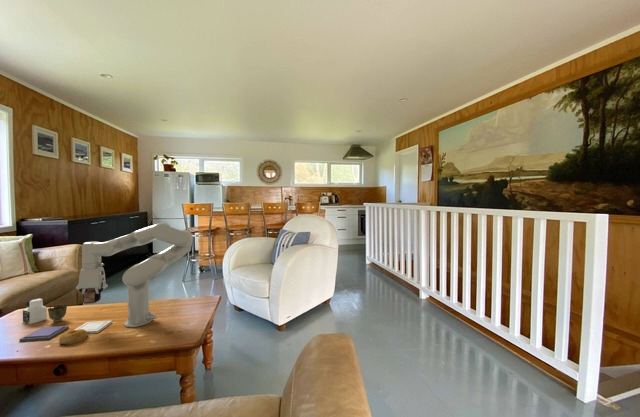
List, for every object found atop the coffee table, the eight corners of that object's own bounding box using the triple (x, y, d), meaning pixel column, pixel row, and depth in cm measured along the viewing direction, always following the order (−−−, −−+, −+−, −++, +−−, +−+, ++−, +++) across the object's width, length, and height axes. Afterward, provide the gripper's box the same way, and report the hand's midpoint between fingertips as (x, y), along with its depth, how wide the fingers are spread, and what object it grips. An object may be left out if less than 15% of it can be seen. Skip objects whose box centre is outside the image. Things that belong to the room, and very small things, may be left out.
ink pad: (68, 328, 138) (68, 325, 138) (49, 339, 126) (49, 336, 126) (41, 329, 136) (41, 326, 136) (19, 341, 124) (19, 338, 124)
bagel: (93, 333, 133) (93, 324, 132) (77, 345, 122) (77, 334, 122) (71, 335, 131) (70, 325, 131) (52, 347, 120) (52, 336, 120)
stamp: (99, 300, 140) (99, 286, 140) (93, 303, 136) (93, 288, 136) (90, 300, 140) (90, 286, 139) (83, 303, 135) (83, 289, 135)
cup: (54, 325, 141) (54, 310, 141) (44, 323, 143) (44, 309, 143) (70, 319, 149) (70, 305, 149) (60, 318, 150) (60, 304, 150)
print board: (112, 322, 145) (112, 320, 145) (97, 333, 133) (97, 330, 133) (87, 324, 143) (87, 321, 143) (70, 334, 131) (70, 332, 131)
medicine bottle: (22, 322, 145) (22, 300, 144) (40, 317, 151) (40, 296, 151) (29, 324, 142) (29, 302, 142) (47, 319, 148) (46, 297, 148)
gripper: (114, 263, 143) (114, 297, 143) (78, 264, 140) (78, 299, 140) (105, 266, 135) (105, 302, 135) (67, 267, 132) (67, 304, 133)
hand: (91, 300), depth 138 cm, fingers closed on stamp, 4 cm apart
